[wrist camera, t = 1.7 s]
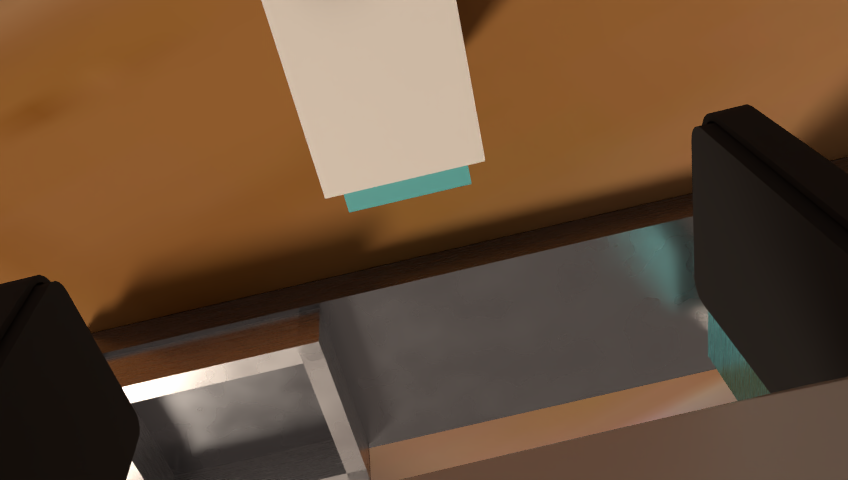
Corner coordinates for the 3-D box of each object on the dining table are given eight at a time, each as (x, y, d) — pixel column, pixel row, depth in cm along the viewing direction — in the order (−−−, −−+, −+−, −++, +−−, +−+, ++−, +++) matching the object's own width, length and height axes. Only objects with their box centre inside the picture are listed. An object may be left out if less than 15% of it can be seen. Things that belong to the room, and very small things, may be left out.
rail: (886, 147, 28) (1106, 291, 20) (863, 309, 33) (1037, 480, 24) (82, 335, 29) (-15, 547, 21) (162, 469, 33) (107, 688, 25)
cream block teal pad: (411, -102, 22) (446, -52, 15) (447, 80, 25) (490, 189, 18) (281, -70, 22) (259, -7, 15) (333, 107, 25) (334, 225, 18)
